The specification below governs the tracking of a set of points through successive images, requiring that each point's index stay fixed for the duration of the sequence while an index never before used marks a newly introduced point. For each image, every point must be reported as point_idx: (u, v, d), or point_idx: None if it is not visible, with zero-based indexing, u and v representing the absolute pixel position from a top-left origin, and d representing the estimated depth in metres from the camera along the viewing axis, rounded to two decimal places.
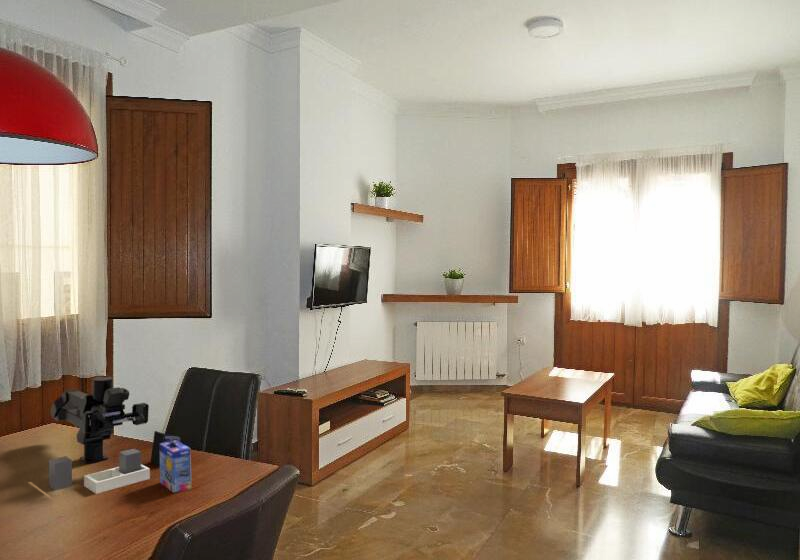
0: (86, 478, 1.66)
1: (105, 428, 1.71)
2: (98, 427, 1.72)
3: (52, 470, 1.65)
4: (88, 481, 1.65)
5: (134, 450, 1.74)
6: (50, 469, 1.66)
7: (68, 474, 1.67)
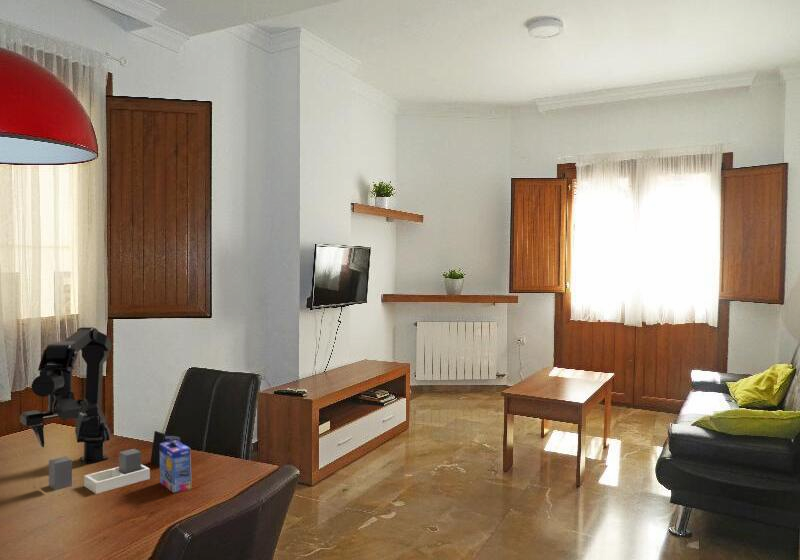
0: (86, 478, 1.66)
1: (37, 437, 1.63)
2: None
3: (52, 470, 1.65)
4: (88, 481, 1.65)
5: (134, 450, 1.74)
6: (50, 469, 1.66)
7: (68, 474, 1.67)
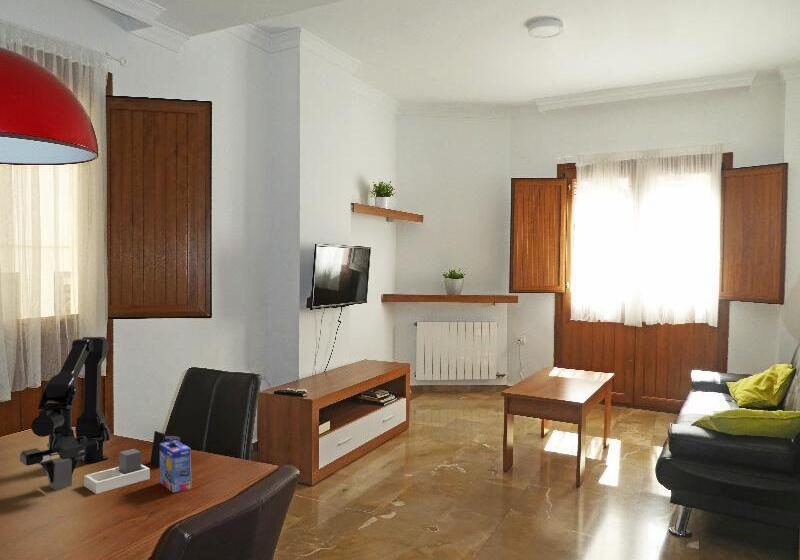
0: (86, 478, 1.66)
1: (46, 473, 1.65)
2: None
3: (52, 470, 1.65)
4: (88, 481, 1.65)
5: (134, 450, 1.74)
6: None
7: (68, 474, 1.67)
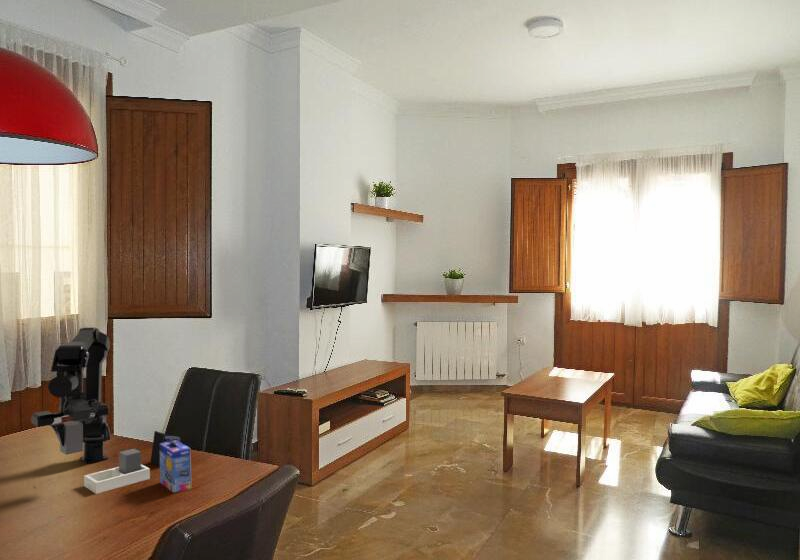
0: (86, 478, 1.66)
1: (57, 436, 1.65)
2: None
3: None
4: (88, 481, 1.65)
5: (134, 450, 1.74)
6: None
7: (79, 437, 1.66)
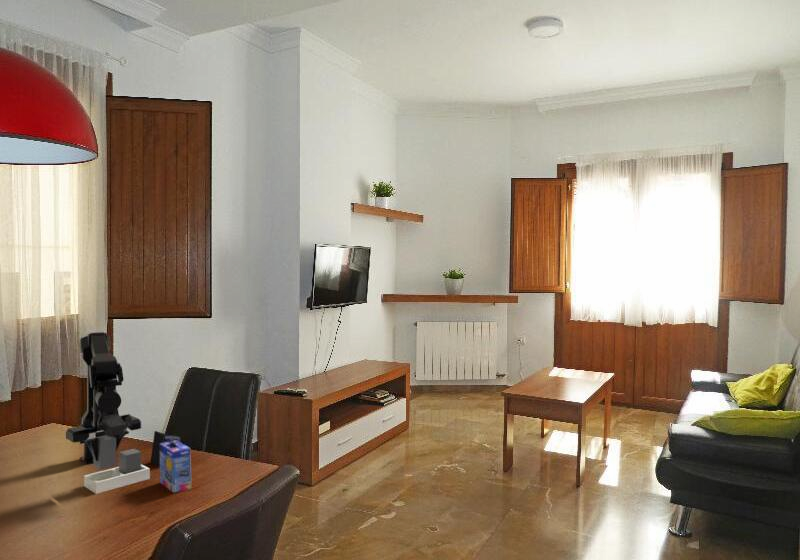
0: (86, 478, 1.66)
1: (91, 451, 1.65)
2: None
3: (97, 448, 1.65)
4: (88, 481, 1.65)
5: (134, 450, 1.74)
6: None
7: (112, 452, 1.67)
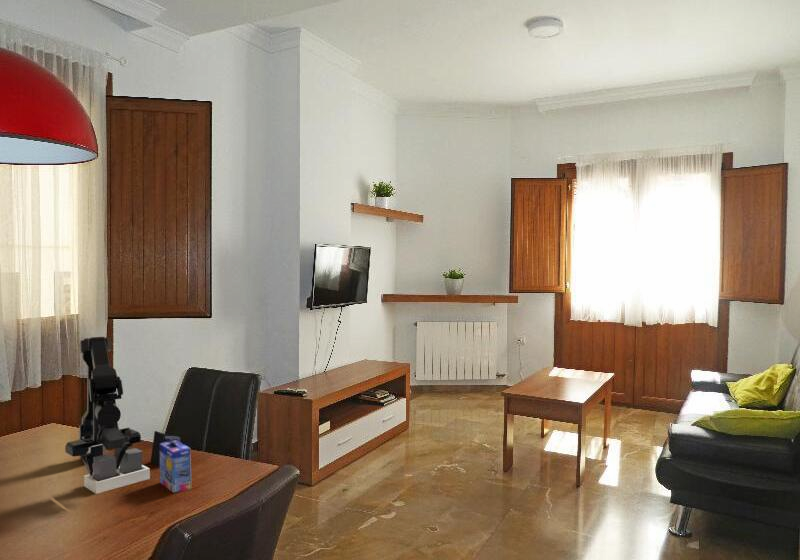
0: (86, 478, 1.66)
1: (86, 466, 1.65)
2: None
3: (97, 468, 1.65)
4: (88, 481, 1.65)
5: (136, 449, 1.75)
6: (95, 466, 1.67)
7: (112, 471, 1.67)
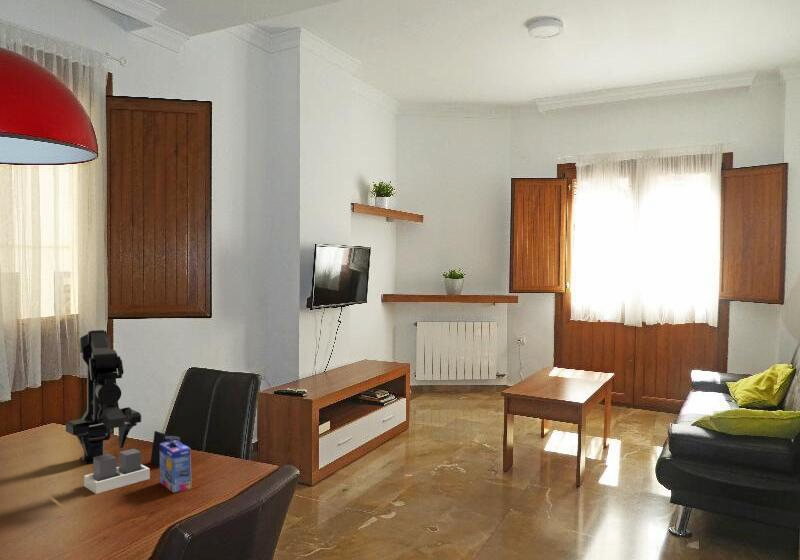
0: (86, 478, 1.66)
1: (82, 446, 1.64)
2: None
3: (97, 468, 1.65)
4: (88, 481, 1.65)
5: (134, 450, 1.74)
6: (95, 466, 1.67)
7: (112, 471, 1.67)
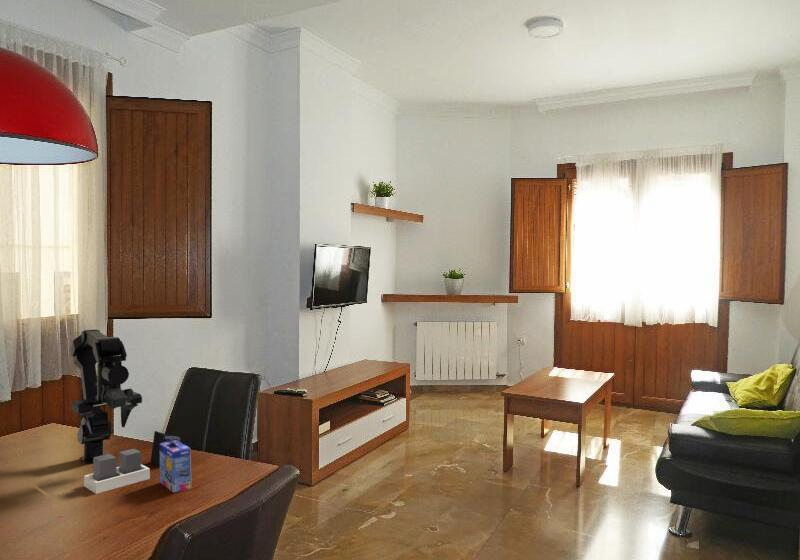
0: (86, 478, 1.66)
1: (87, 425, 1.75)
2: None
3: (97, 468, 1.65)
4: (88, 481, 1.65)
5: (134, 450, 1.74)
6: (95, 466, 1.67)
7: (112, 471, 1.67)
